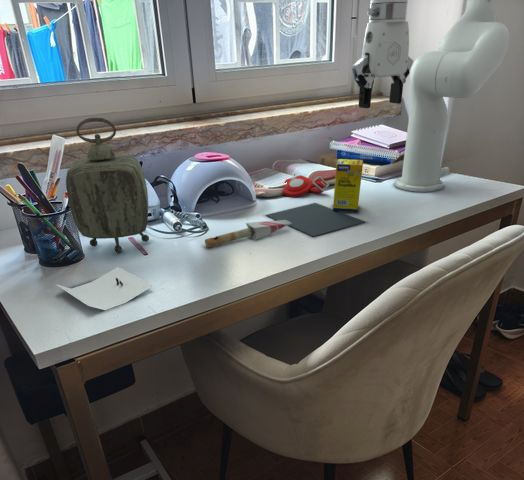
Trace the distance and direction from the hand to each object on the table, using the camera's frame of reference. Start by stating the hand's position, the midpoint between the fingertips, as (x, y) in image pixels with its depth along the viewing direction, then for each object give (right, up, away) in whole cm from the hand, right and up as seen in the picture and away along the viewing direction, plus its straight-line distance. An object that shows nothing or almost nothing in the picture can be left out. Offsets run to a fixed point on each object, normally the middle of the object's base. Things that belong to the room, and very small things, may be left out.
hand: (380, 105), depth 113 cm
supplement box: (-6, -21, +8) cm, 24 cm away
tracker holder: (-16, -14, +21) cm, 29 cm away
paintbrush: (-29, -32, -6) cm, 44 cm away
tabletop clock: (-56, -35, -9) cm, 67 cm away
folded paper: (-54, -46, -26) cm, 75 cm away
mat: (-15, -25, +3) cm, 29 cm away
